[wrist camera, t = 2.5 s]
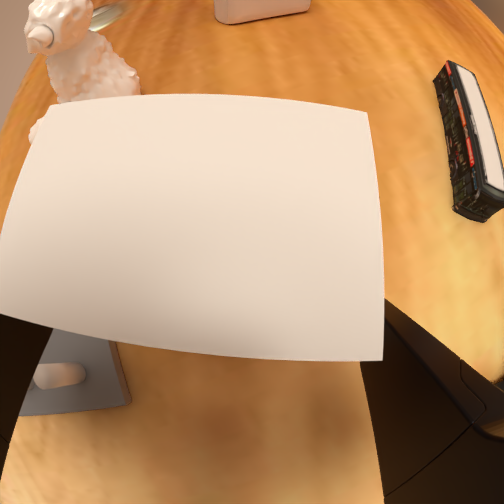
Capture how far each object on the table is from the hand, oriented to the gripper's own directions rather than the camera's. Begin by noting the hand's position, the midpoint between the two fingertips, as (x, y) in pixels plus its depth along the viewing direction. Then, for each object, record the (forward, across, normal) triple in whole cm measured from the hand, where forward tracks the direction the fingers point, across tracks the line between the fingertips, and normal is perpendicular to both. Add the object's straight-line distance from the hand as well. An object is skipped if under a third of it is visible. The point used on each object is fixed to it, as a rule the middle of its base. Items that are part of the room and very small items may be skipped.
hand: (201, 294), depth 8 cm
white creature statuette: (+16, +11, -4) cm, 20 cm away
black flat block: (+19, -20, -5) cm, 28 cm away
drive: (+6, 0, +6) cm, 8 cm away
